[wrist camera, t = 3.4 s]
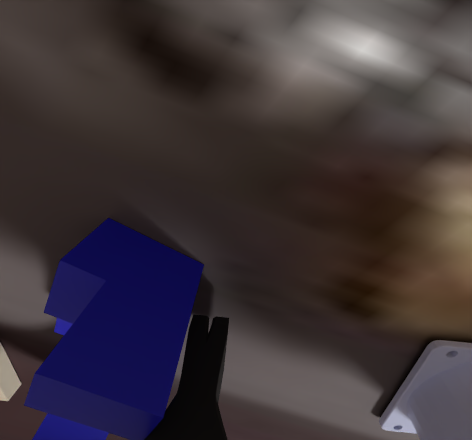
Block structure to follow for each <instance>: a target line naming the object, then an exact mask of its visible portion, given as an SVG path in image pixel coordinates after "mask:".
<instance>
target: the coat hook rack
mask: <svg viewBox="0 0 472 440" xmlns="http://www.w3.org/2000/svg"><path fill="white" fill-rule="evenodd" d="M20 385H21V382H20V380H19V378H18V376H17V374H16V372H15V370H14V368H13V366H12V364H11V362H10V360H9V358H8V356H7V354H6V352H5V350H4V348H3V346H2V344H1V342H0V400H3V401H9V399H10V398H11V397H12V396H13V394H14V393H15V392H16V390H17V389H18V388H19V387H20Z"/></svg>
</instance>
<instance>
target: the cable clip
mask: <svg viewBox="0 0 472 440" xmlns="http://www.w3.org/2000/svg"><path fill="white" fill-rule="evenodd" d="M203 267H204V264H202V263H200V262H198V261H196V260H194V259H192V258H189V257H187V256H185V255H183V254H181V253H179V252H177V251H175V250H173V249H171V248H169V247H167V246H165V245H163V244H161V243H159V242H157V241H155V240H153V239H151V238H149V237H147V236H145V235H143V234H141V233H138V232H136V231H134V230H132V229H130V228H128V227H126V226H124V225H122V224H120V223H118V222H116V221H114V220H112V219H110V218H108V219H107V220H105V221H104V222H103V223H102V224H101V225H100V226H99V227H97V228H96V229H95V230H94V231H93V232H92V233H90V234H89V235H88V236H87V237H86V238H85V239H84V240H82V241H81V242H80V243H79V244H78V245H77V246H76V247H74V248H73V249H72V250H71V251H70V252H69V253H68V254H66V255H65V256H64V257H63V258H62V259H61V260H60V261H59V265H58V268H57V271H56V274H55V278H54V281H53V284H52V287H51V291H50V294H49V297H48V300H47V303H46V307H45V310H44V313H47V314H49V315H52V316H54V317H57V321H56V326H55V330H54V332H56V333H59V334H61V335H64V336H63V337H62V339H61V340H60V341H59V343H58V344H57V345H56V347H55V348H54V349H53V350H52V352H51V353H50V354H49V356H48V357H47V358H46V360H45V361H44V362H43V363H42V365H41V366H40V367H39V369H38V370H37V371H36V373H35V375H34V378H33V380H32V383H31V386H30V389H29V392H28V395H27V398H26V401H25V404H24V406H27V407H30V408H34V409H37V410H40V411H43V412H46V413H48V414H47V416H46V417H45V419H44V421H43V422H42V424H41V426H40V427H39V429H38V431H37V432H36V434H35V436H34V438H33V439H32V440H105V439H106V437H107V435H108V433H111V434H114V435H118V436H121V437H124V438H127V439H130V440H144V439H145V438H146V437H147V436H148V435H149V434H150V433H151V431H152V430H153V429H154V428H155V427H156V426H157V425H158V423H159V422H160V421H161V420H162V419H163V417H164V414H165V410H166V406H167V402H168V398H169V395H170V391H171V387H172V383H173V380H174V376H175V372H176V368H177V365H178V361H179V357H180V353H181V350H182V346H183V342H184V338H185V335H186V331H187V327H188V323H189V320H190V316H191V312H192V308H193V304H194V301H195V297H196V293H197V289H198V286H199V282H200V278H201V274H202V271H203Z"/></svg>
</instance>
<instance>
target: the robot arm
mask: <svg viewBox="0 0 472 440" xmlns="http://www.w3.org/2000/svg"><path fill="white" fill-rule="evenodd" d="M228 324H229V318H225V317H214V318H213V321H212V325H211V328H210V331H209V333H208V329H209V317H208V316H205V315H195V314H194V315H193V318H192V321H191V324H190V327H189V332H188V338H187V344H186V350H185V356H184V362H183V368H182V374H181V379H180V384H179V388H178V391H177V394H176V396H175V397H174V399H173V400H172V402H171V403H170V405H169V406H168V408H167V409H166V411H165V414H164V417H163V419H162V420H161V421H160V422H159V423H158V425H157V426H156V427H155V428H154V429H153V430H152V431H151V433H150V434H149V435H148V436H147V437H146V438H145V439H144V440H227V436H226V433H225V430H224V426H223V422H222V418H221V415H220V411H219V406H218V400H219V394H220V389H221V383H222V377H223V371H224V362H225V353H226V344H227V335H228ZM379 423H380V425H381V428H382V429H384V430H387V431H397V432H407V433H417V434H418V436H419V438H420V440H472V343H466V342H456V341H446V340H436V341H432V342H431V343H429V344H428V345H427V347H426V349H425V350H424V352H423V353H422V355H421V356H420V358H419V359H418V361H417V362H416V364H415V365H414V367H413V368H412V370H411V371H410V373H409V375H408V376H407V378H406V379H405V381H404V382H403V384H402V385H401V387H400V388H399V390H398V391H397V393H396V394H395V396H394V397H393V399H392V401H391V402H390V404H389V405H388V407H387V408H386V410H385V411H384V413H383V414H382V416H381V417H380V419H379Z"/></svg>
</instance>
